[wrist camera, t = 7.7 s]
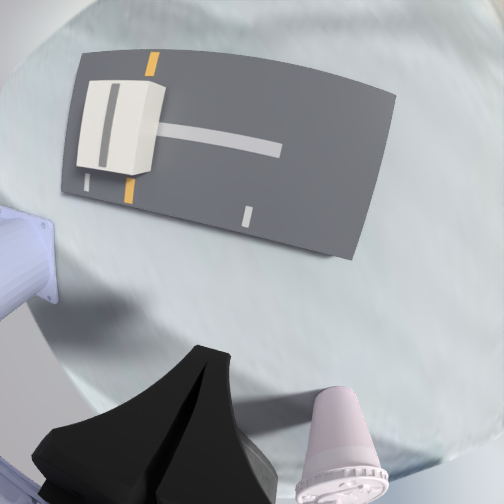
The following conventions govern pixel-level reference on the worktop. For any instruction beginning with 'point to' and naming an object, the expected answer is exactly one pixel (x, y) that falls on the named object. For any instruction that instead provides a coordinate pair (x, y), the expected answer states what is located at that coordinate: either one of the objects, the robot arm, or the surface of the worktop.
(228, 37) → the worktop surface
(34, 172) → the worktop surface
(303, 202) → the console
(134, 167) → the fader knob
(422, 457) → the worktop surface
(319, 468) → the smoothie
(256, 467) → the flask
